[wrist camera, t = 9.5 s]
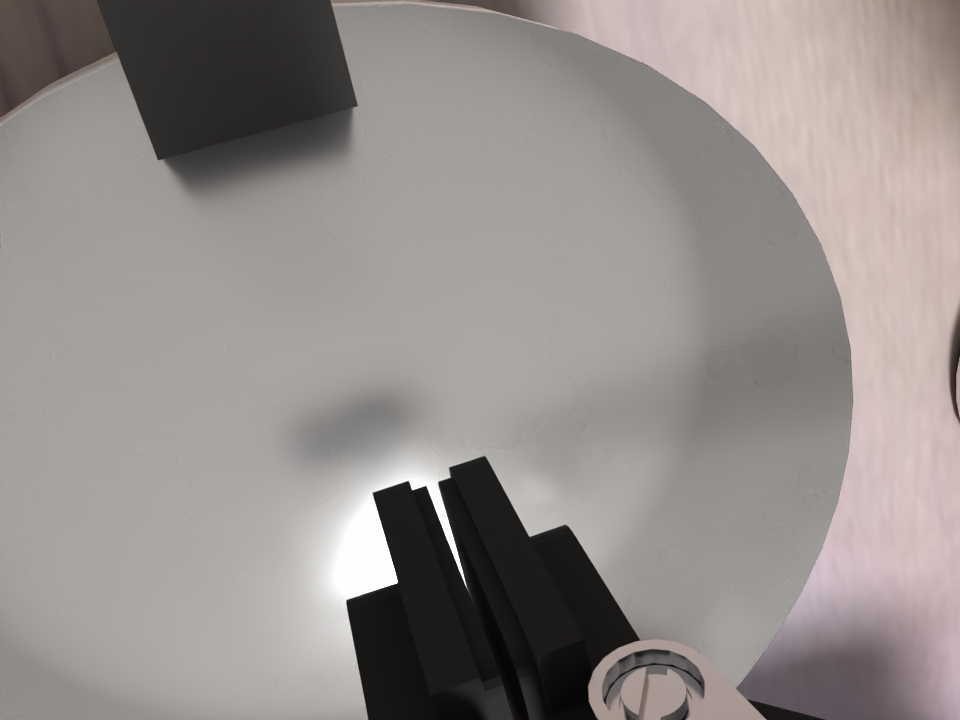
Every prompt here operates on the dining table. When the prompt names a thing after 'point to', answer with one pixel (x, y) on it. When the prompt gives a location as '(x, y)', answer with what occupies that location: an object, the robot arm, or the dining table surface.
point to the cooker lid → (385, 346)
